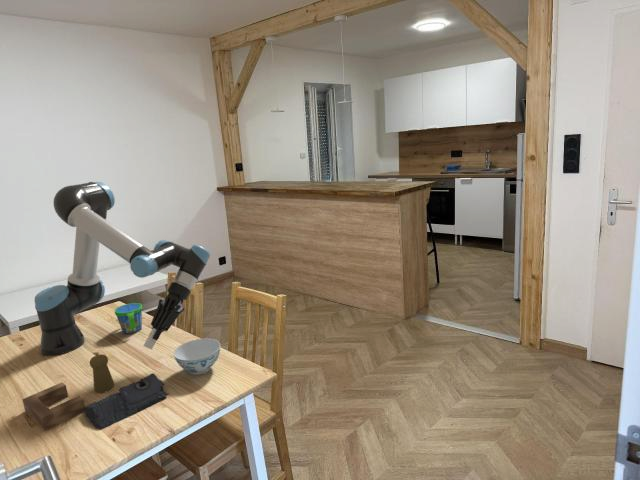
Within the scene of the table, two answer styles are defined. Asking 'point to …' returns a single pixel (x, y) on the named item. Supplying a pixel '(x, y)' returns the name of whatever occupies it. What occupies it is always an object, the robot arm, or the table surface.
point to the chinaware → (197, 355)
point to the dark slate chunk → (126, 402)
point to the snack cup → (130, 317)
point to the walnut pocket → (57, 414)
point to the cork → (101, 374)
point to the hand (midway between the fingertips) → (147, 347)
